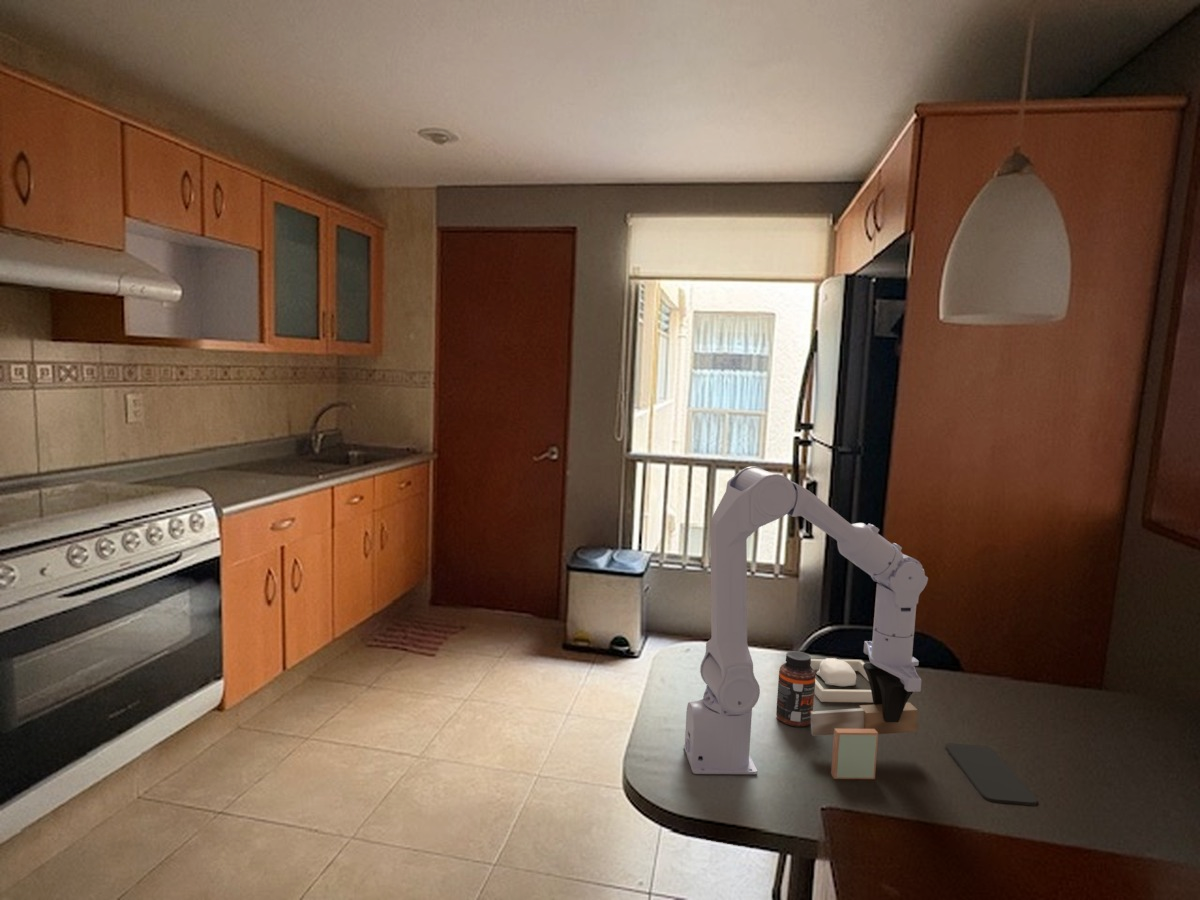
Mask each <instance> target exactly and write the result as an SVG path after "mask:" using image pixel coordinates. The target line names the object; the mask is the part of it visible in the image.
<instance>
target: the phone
mask: <svg viewBox="0 0 1200 900" xmlns="http://www.w3.org/2000/svg"><path fill="white" fill-rule="evenodd" d="M945 751H947V753H948V755H949V756H950V757H951V759H952V760H953V761H954V763H955V764H956V765H957V766H958V767H959V769H960V770H961V771H962V773H963V774H964V775H965V777H966V778H967V780H969V782H970V783H971V784H972V786H973V787H974V789H975V790H976V791H977V792H978V794H979V795H980V796H981V797H982V799H984V800H986V801H988V802H992V803H1001V804H1014V805H1025V806H1036V805H1038V799H1037V797H1035V795H1034V794H1033V793H1032V792H1031V790H1029V788H1028V787H1027V786H1026V785H1025V784H1024V782H1023V781H1022V780H1021V779H1020V778H1019V777H1018V775H1016V773H1015V772H1014V771H1013V770H1012V769H1011V768H1010V767H1009V765H1008V764H1007V763H1006V762H1005V761H1004V760H1003V759H1002V758H1001V756H1000V755H999V754H998V753H997V752H996V751H995V750H994V749H993V748H991V747H990V746H987V745H980V744H979V745H977V744H976V745H975V744H968V743H967V744H966V743H951V742H948V743H946V744H945Z"/></svg>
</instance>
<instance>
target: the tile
mask: <svg viewBox="0 0 1200 900" xmlns="http://www.w3.org/2000/svg"><path fill="white" fill-rule="evenodd" d="M878 740H879V734H878V732H877V731H876V730H875V729H835V728H834V734H833V741H832V755H831V769H830V770H831V771H830V775H831V776H832V778H833V779H834V780H875V779H876V768H877V767H876V766H877V755H878V752H877V751H878V744H879V743H878V742H879V741H878Z"/></svg>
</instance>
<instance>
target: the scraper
mask: <svg viewBox="0 0 1200 900" xmlns="http://www.w3.org/2000/svg"><path fill="white" fill-rule="evenodd" d="M858 706H859V707H858V708H844V709H842V708H841V709H831V710H829V709H828V710H827V709H826V710H816V711H815V710H813V711H811V723H810V734H811V735H812V736H813V737H816V736H829V735H831V736H832V735H833V736H834V728H835V729H875V730H876V731H877V732H878V735H888V734H889V735H890V734H900V733H901V734H902V733H903V734H904V733H918V727H919V726H918V725H919V724H918V720H919V719H918V712H919V711H918V709H917V708H916V707H915V706H914V705H913V704H912V703H911V702H908V701H907V702H906V705H905V707H904V709H903V712H902V715H901V717H900V720H899V722H885V721H884V718H883V712H882V704H876V705H874V704H861V705H858Z"/></svg>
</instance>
